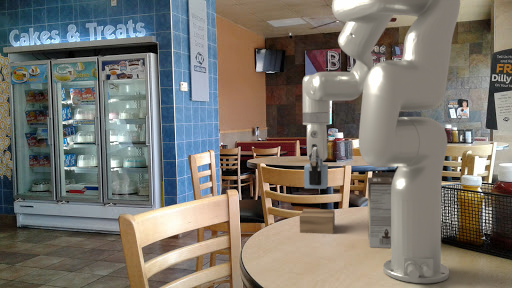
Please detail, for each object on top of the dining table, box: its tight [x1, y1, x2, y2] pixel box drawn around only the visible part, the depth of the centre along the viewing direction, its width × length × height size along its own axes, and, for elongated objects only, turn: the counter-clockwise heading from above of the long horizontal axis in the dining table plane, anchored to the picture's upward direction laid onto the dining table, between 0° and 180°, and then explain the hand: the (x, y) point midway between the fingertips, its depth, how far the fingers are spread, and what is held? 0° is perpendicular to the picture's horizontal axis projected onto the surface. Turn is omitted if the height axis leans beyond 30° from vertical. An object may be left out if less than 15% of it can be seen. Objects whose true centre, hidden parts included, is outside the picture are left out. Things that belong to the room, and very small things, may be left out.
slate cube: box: [303, 163, 329, 190], centre depth 128 cm, size 6×6×6 cm
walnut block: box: [299, 208, 336, 235], centre depth 128 cm, size 9×9×5 cm
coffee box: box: [367, 176, 394, 249], centre depth 113 cm, size 9×6×16 cm
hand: (316, 182), depth 128 cm, fingers closed on slate cube, 6 cm apart
